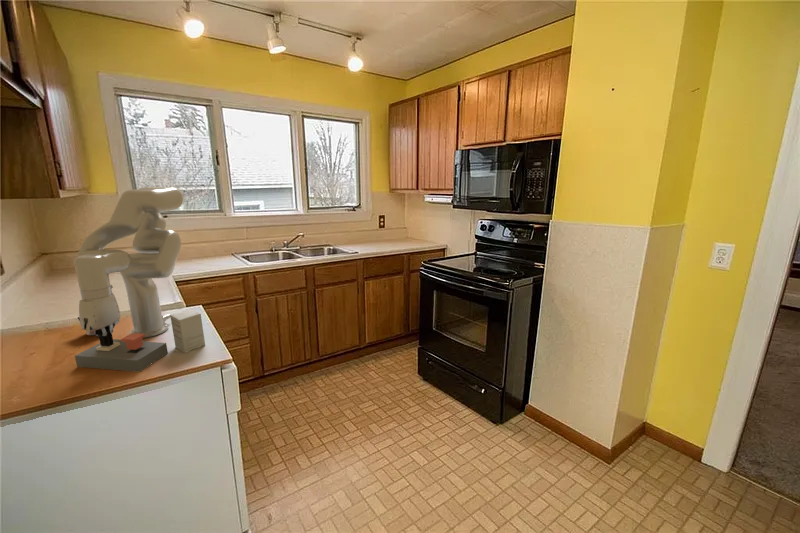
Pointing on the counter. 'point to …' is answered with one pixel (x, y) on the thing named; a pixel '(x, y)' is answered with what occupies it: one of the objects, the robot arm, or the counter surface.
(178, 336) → the supplement box
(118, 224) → the robot arm
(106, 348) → the ivory plug
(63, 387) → the counter surface
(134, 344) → the red plug
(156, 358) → the plug panel
